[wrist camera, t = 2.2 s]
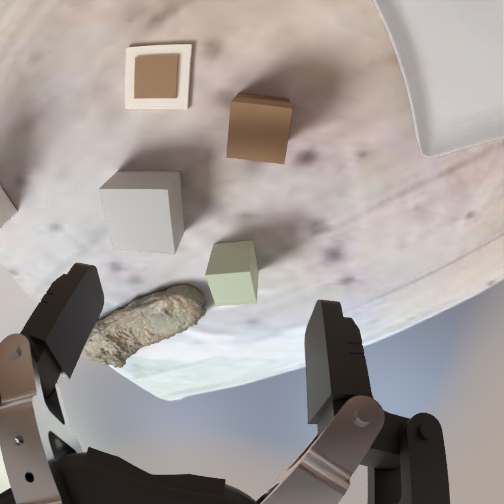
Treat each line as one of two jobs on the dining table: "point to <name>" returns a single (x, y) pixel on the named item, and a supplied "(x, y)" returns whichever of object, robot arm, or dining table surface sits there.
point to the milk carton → (5, 209)
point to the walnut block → (259, 128)
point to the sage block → (233, 273)
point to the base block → (144, 210)
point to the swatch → (158, 76)
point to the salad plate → (450, 69)
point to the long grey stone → (144, 324)
